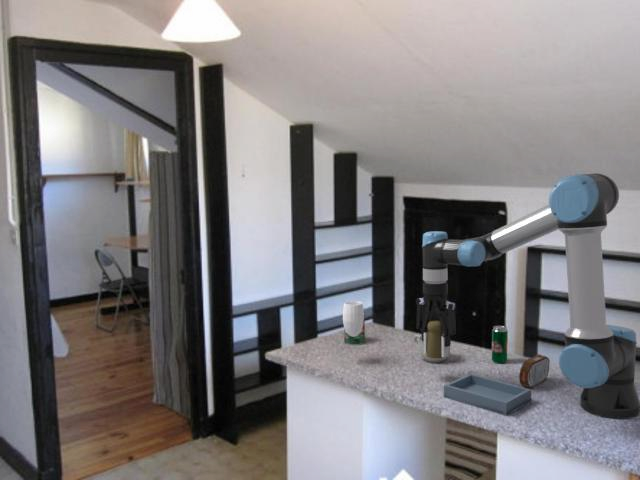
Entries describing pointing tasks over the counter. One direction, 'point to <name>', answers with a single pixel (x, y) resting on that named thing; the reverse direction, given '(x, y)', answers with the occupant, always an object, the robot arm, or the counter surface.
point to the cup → (353, 317)
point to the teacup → (421, 350)
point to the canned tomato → (357, 339)
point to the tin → (534, 371)
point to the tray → (487, 394)
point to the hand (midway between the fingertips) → (436, 354)
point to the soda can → (499, 344)
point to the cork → (434, 340)
